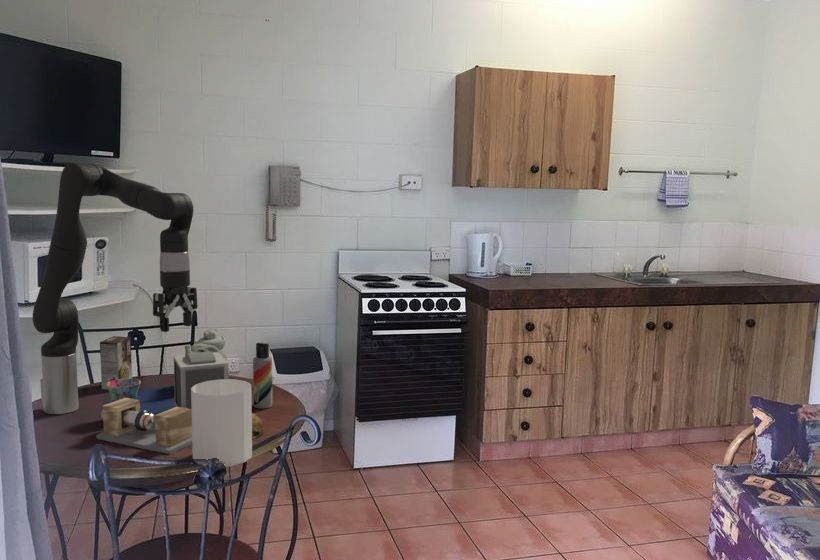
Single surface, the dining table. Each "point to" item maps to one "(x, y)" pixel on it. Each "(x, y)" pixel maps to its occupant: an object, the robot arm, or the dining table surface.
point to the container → (222, 421)
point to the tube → (137, 419)
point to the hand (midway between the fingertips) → (176, 328)
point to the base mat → (143, 441)
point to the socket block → (173, 426)
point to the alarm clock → (196, 373)
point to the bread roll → (257, 426)
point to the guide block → (118, 416)
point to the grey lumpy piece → (208, 344)
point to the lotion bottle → (262, 377)
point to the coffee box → (115, 359)
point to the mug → (123, 388)
